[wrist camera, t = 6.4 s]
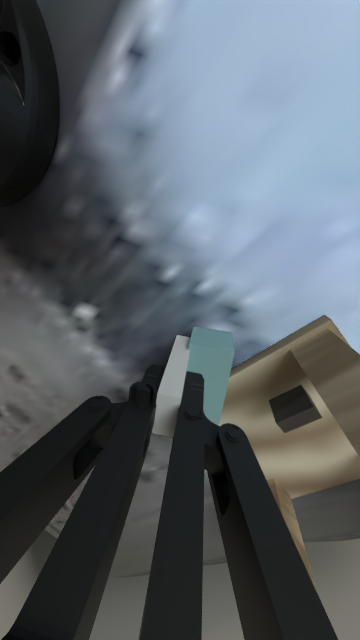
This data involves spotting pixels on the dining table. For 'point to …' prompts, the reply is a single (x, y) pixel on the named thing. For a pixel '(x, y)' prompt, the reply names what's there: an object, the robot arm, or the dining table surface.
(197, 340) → the hinged leg
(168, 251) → the dining table surface
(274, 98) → the dining table surface
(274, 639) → the robot arm
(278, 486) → the stool seat
